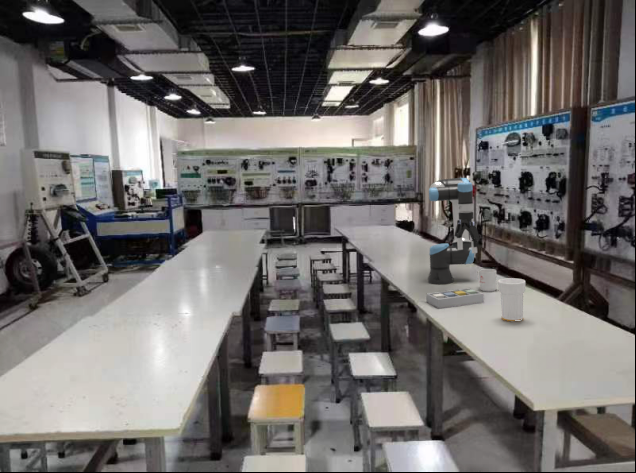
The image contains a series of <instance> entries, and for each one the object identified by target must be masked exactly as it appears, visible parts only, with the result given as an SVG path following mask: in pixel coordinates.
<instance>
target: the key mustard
mask: <svg viewBox="0 0 636 473" xmlns="http://www.w3.org/2000/svg"><path fill="white" fill-rule="evenodd" d="M454 293H455V294H457V295H460V296H463V295H466V292H463V291H456V292H454Z"/></svg>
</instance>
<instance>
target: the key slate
mask: <svg viewBox="0 0 636 473" xmlns="http://www.w3.org/2000/svg"><path fill="white" fill-rule="evenodd" d="M443 294H444V295H446V296H448V297H455V294H454V293H452V292H448V293H443Z"/></svg>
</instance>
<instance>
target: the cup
mask: <svg viewBox="0 0 636 473" xmlns="http://www.w3.org/2000/svg"><path fill="white" fill-rule="evenodd" d="M497 286H498V287H497V289H498V291H499V293H500V298H501V300H500V301H501V303H500V304H501V320H502V321H505V320H507V321H506V322H509V321H515V320H521V319H523V320H524V294H525V292H526V280H525V279H522V278H514V277H513V278H512V277H511V278H510V277H509V278H508V277H507V278H502V279H501V278H500V279H498V280H497Z"/></svg>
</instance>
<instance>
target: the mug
mask: <svg viewBox="0 0 636 473" xmlns="http://www.w3.org/2000/svg"><path fill="white" fill-rule="evenodd" d="M476 272H477V282H478V283H479V289H480V290H481V291H482V292H487V293H488V292H495V291H496V290H497V289H498V287H497V286H498V280H497V269H493V268H483V269H479V271H476Z"/></svg>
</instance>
